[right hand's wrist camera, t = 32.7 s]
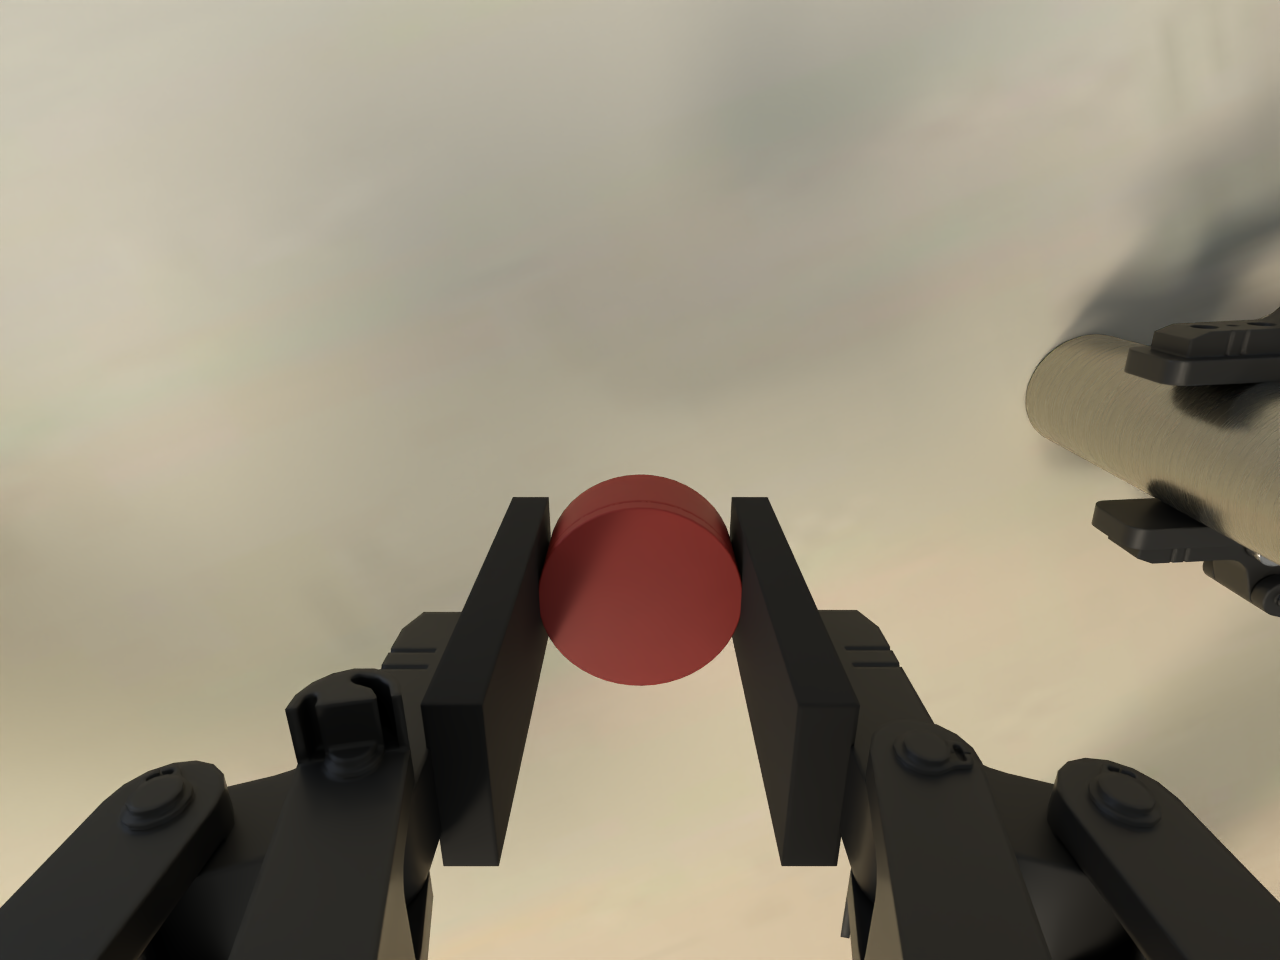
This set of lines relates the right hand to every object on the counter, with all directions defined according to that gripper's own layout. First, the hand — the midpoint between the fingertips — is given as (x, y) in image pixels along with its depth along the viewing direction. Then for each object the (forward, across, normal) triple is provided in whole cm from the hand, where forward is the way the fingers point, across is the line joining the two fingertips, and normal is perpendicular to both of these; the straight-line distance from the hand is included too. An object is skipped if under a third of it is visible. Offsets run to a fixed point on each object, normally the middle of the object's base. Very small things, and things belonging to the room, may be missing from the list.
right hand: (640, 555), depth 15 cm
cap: (-2, 0, 0) cm, 2 cm away
